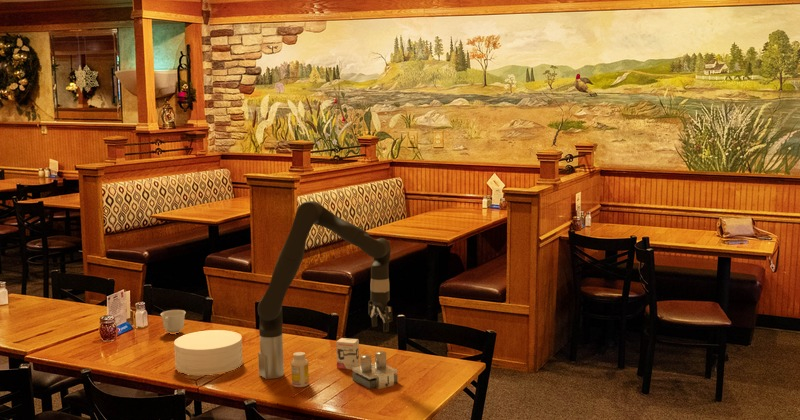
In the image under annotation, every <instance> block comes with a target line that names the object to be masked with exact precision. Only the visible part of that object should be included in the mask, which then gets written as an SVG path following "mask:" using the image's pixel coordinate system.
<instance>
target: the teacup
mask: <svg viewBox="0 0 800 420" xmlns="http://www.w3.org/2000/svg"><path fill="white" fill-rule="evenodd" d="M186 313H187V312H186V311H185V310H183V309H170V310H165V311H162V312H161V313H160V316H161V318H162V324H163V328H164V330H165V331H166V332H171V333H175V332H179V331H180V332H181V330H183V328H184V326H185V325H184V324H185V315H186Z"/></svg>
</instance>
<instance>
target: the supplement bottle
mask: <svg viewBox="0 0 800 420" xmlns="http://www.w3.org/2000/svg"><path fill="white" fill-rule="evenodd" d="M292 356H293V359H292V360H291V361H290V366H291V367H290V368H291V369H290V371H291V385H292V386H293V387H295V388H304V387H307V386H308V385H309V383H310V379H309V378H310V377H309V375H310V374H309V360H308V359H307V358H306V353H305V352H304V351H303V352H302V351H296V352H294V353H293V354H292Z"/></svg>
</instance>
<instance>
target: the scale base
mask: <svg viewBox="0 0 800 420" xmlns="http://www.w3.org/2000/svg"><path fill="white" fill-rule="evenodd" d="M351 373H352V374H351V375H352V381H353V382H355V383H358V384H360V385H361V386H363V387H365V388H367V389H368V390H373V389H378V390H380V389H386V388H389V387H394V386H395V384H397V383H398V382H399V381H398V374H397V373H393V372H388V373H384V374H380V375H376V378H373V379H368V378H366V377H364V376H362V375H360V374H358V373H356V372H354V371H353V372H351Z"/></svg>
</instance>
